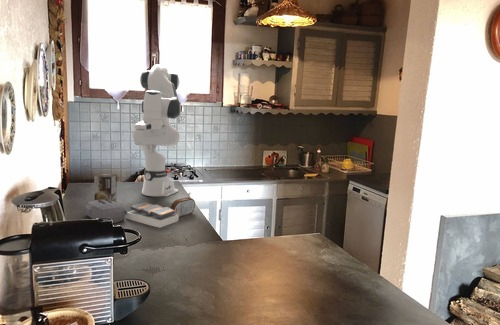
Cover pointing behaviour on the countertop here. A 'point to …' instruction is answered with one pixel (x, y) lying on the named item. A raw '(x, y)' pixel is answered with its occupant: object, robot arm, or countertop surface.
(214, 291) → the countertop surface
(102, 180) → the coffee box
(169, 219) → the white rectangular tray
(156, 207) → the rocker
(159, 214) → the flat block
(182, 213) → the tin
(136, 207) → the rocker
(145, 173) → the robot arm
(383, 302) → the countertop surface
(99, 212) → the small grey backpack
